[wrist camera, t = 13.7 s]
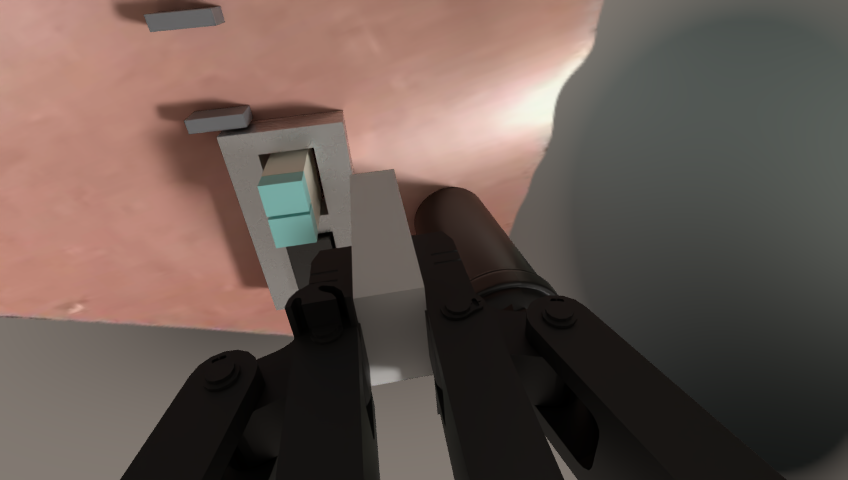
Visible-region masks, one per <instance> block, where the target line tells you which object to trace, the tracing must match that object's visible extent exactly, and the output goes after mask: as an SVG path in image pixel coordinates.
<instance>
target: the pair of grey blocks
mask: <svg viewBox="0 0 848 480" xmlns="http://www.w3.org/2000/svg"><path fill="white" fill-rule="evenodd" d="M144 17H145V20H146V22H147V25H148V27H149V30H150V32H156V31H166V30H176V29H186V28H196V27H206V26H216V25H219V24H221V23H224V22H225V21H224V17H223V14H222V10H221V7H220V6H217V7H207V8H196V9H186V10H175V11H165V12H156V13H151V14H145V15H144ZM252 119H253V116H252V113H251V109H250V106H249V105H247V106H239V107H230V108H222V109H213V110H205V111H196V112H193V113H192V114H191V115H190V116H189V117H188V118H187V119H185V120H184V122H185V125H186V127H187V130H188V133H189V134H195V133H204V132H212V131H220V130H228V129H237V128H245V127H247V126H248V125H249V123H250V122H251V120H252Z"/></svg>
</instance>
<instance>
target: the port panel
mask: <svg viewBox="0 0 848 480" xmlns="http://www.w3.org/2000/svg"><path fill="white" fill-rule="evenodd" d="M217 140H218V143H219V146H220V149H221V152H222V155H223V158H224V160H225V163H226V166H227V169H228V172H229V175H230V178H231V181H232V184H233V186H234V189H235V192H236V195H237V198H238V201H239V204H240V207H241V209H242V212H243V215H244V218H245V221H246V224H247V227H248V230H249V233H250V235H251V238H252V241H253V244H254V247H255V250H256V253H257V256H258V259H259V261H260V264H261V267H262V270H263V273H264V276H265V279H266V282H267V284H268V287H269V290H270V293H271V296H272V299H273V302H274V305H275V308H276V310H281V309H285V305H286V303H287V301H288V299H289V298H290V297H291V296H292V295H293V294H294V293H295V292H296V291H298V290H300V289H302V288H303V287H305V286H307V285H309V278H310V270H311V262H312V261H313V259H314V258H315V257H316V255H317V254H318V253H319V251H321V250H328V249H334V248H341V247H348V246H352V243H351V208H350V175H354V171H353V165H352V159H351V154H350V148H349V142H348V137H347V131H346V126H345V120H344V114H343V110H342V111H333V112H325V113H317V114H309V115H300V116H292V117H284V118H275V119H267V120H259V121H251V122H250V123H249V125H248V126H247V127H245V128H237V129H228V130H222V131H221V133H220V134H219V135H218V136H217ZM307 148H314V151H315V155H316V160H317V164H318V169H319V173H320V178H321V182H322V186H323V191H324V195H325V198H321V208H320V218H319V228H318V236H317V242H316V243H309V244H302V245H295V246H288V247H281V248H276V245H275V242H274V239H273V236H272V232H271V229H270V226H269V223H268V218H269V217H267V216H266V213H265V210H264V207H263V203H262V200H261V197H260V194H259V190H258V187H257V186H258V184H259V181H260V179H261V176H262V173H263V171H264V168H265V166H266V164H267V161H268V159H269V153H276V152H284V151H292V150H299V149H307Z"/></svg>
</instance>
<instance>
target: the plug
mask: <svg viewBox="0 0 848 480" xmlns="http://www.w3.org/2000/svg"><path fill="white" fill-rule="evenodd" d="M257 187H258V190H259V194H260V197H261V200H262V203H263V207H264V210H265V213H266V216H267V217H269V218H268V223H269V226H270V229H271V232H272V236H273V239H274V242H275V245H276V248H281V247H288V246H295V245H302V244H309V243H316V242H317V236H318V228H319V218H320V208H321V198H322V192H321V188H320V183H319V179H318V174H317V170H316V165H315V161H314V156H313V152H312V148H307V149H299V150H292V151H284V152H276V153H271V154H270V156H269V159H268V161H267V164H266V166H265V168H264V171H263V173H262V176H261V179H260V181H259V184H258V186H257Z"/></svg>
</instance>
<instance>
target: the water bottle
mask: <svg viewBox="0 0 848 480" xmlns="http://www.w3.org/2000/svg"><path fill="white" fill-rule="evenodd" d="M415 231H416V235H419V234H426V233H433V232H439V231H443V232H444V233H445V234H447V235H448V236H449V237H451V238H452V239H453V241H454V243H455V245H456V248H457V251H458V253H459V255H460V257H461V261H462V262H463V265H464V267H465V269H466V272H467V274H468V277H469V279H470V281H471V284H472V286H473V289H474V291H475V293H476V294H477V295H479V296H481V297H482V298H483V299H484V300H485V302H486V303H487V304H488V305H489V306H491V307H494V308H497V309H500V310H507V311H519V312H527V308H528V306H529V305H530V303H531V302H533V301H534V300H536V299H538V298H539V297H544V296H549V295H556V296H558V294H557V293H556V291H555V290H554V289H553V287H552V286H551V285H550V284H549V283H548V282H547V281H546V280H544V279H543V278H542V277H540V276H539V275H537V274H536V272H535V271H534V270H533V268H532V267H531V266H530V264H529V263H528V262H527V260H526V259H525V258H524V257H523V256H522V254H521V253H520V251H519V250H518V249H517V247H516V246H515V245H514V244H513V242H512V241H511V240H510V238H509V237H508V236H507V234H506V233H505V232H504V231H503V229H502V228H501V227H500V225H499V224H498V223H497V221H496V220H495V219H494V217H493V216H492V215H491V214H490V212H489V211H488V210H487V208H486V207H485V206H484V204H483V203H482V202H481V201H480V199H479V198H478V197H477V196H476V195H475V194H474V193H472V192H470V191H468V190H466V189H463V188H456V187H452V188H445V189H441V190H439V191H436V192H434V193H433V194H431V195H430V196H428V197H427V198H426V199H425V200H424V201H423V202H422V204H421V205H420V207H419V208H418V210H417V213H416V216H415Z"/></svg>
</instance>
